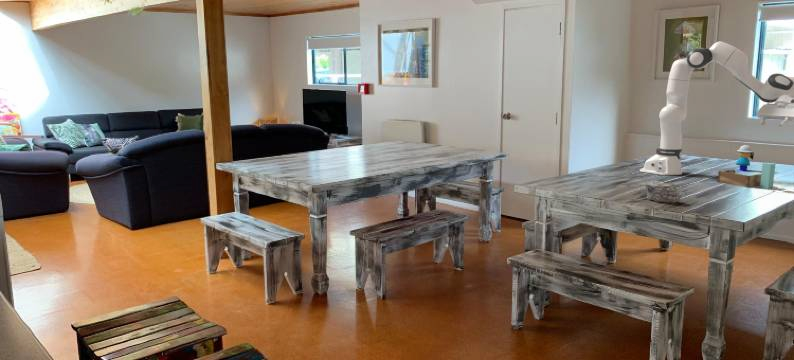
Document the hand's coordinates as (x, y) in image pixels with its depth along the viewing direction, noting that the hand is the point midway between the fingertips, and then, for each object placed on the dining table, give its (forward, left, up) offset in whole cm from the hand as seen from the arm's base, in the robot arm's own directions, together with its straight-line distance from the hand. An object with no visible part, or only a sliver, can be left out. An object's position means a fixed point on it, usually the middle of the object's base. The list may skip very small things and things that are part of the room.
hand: (771, 124), depth 314 cm
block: (+3, -9, -30) cm, 32 cm away
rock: (-27, -71, -32) cm, 83 cm away
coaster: (+3, -9, -31) cm, 33 cm away
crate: (-10, -5, -31) cm, 33 cm away
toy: (-20, +45, -32) cm, 58 cm away
